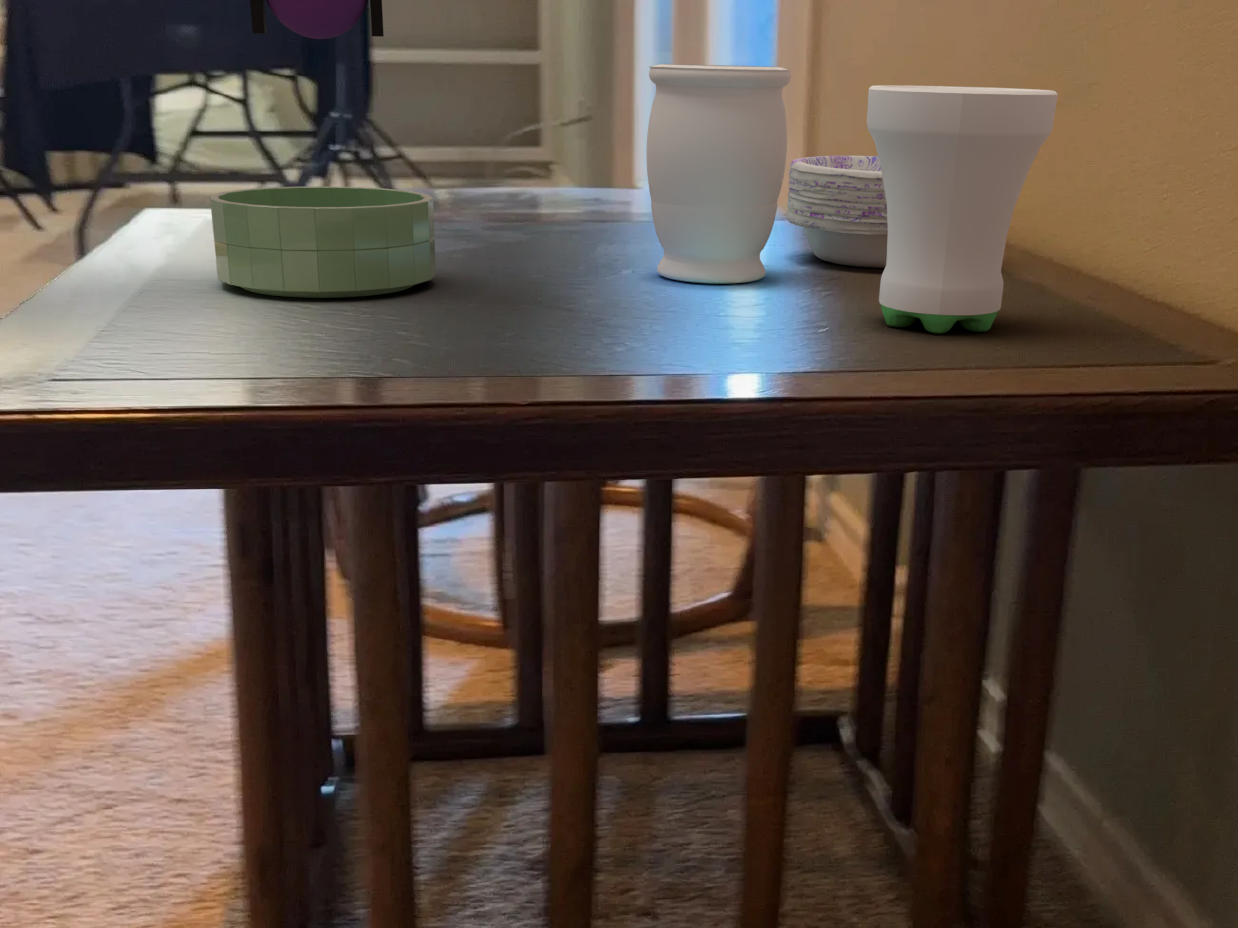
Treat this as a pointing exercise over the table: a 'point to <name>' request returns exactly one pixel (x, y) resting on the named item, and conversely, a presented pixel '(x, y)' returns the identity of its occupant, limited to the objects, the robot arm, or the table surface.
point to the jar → (715, 168)
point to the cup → (951, 195)
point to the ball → (318, 16)
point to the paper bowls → (840, 208)
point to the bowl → (323, 240)
